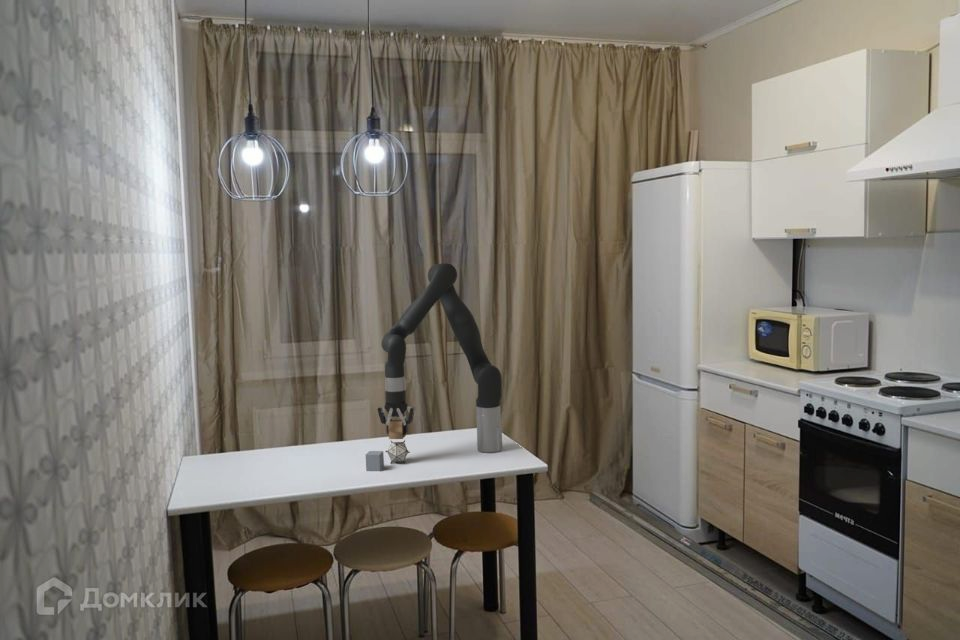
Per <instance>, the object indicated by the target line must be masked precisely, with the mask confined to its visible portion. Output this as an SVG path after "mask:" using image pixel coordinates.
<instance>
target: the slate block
mask: <svg viewBox="0 0 960 640" xmlns="http://www.w3.org/2000/svg"><path fill="white" fill-rule="evenodd" d="M384 456H385V455H384V450H369V451H368V452H367V453H366V454H365V469H366V470H365V472H381V471H382V470H383V469H384V468H385V459H384V458H385V457H384ZM383 467H384V468H383ZM382 468H383V469H382ZM381 469H382V470H381ZM380 470H381V471H380Z"/></svg>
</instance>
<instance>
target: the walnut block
mask: <svg viewBox="0 0 960 640" xmlns="http://www.w3.org/2000/svg"><path fill="white" fill-rule="evenodd" d="M388 430H389V435H388V439H389V440H403V439H404V438H405V437H406V436H407V434H406V435H403V422H402V421H401V419H392V420H391V421H390V422H389V423H388Z"/></svg>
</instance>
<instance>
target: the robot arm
mask: <svg viewBox="0 0 960 640" xmlns="http://www.w3.org/2000/svg"><path fill="white" fill-rule="evenodd" d="M457 279H458V271H457V268H456V267H455V266H454V265H453V264H451V263H448V262H443V263H442V262H441V263H436V264H434V265H432V266H430V268H429V269H428V271H427V280H428V282H429V283H428V285H427V286H426V288H425V289H424V290H423V292H422V293H420V295H419V296H418V297H417V298H416V299H415V300H414V301H412V303H411V304H410V305H408V306H407V308H406V309H405V310H404V313H403V314H402V315H401V317H400V318H399V319H398V321H397V322H396V323H395V324H394V325H393V326H391V328H390V329H389V330H388V331H387V332H386V333H385V335H383V337H382V339H381V344H380V345H381V348H382V350H383V351H385V352H386V353H387V360H386V362H385V363H384V395H385V396H384V398H385V399H384V400H385V401H384V402H385V404H384V406H379V407H377V412H378V416H379V420H380V422H381V424H384V425H385V426H386V434H387V435H388V436H389V430H388V423H389V422H390V421H391V420H393V418H394V417H398V418H399V420H401V421H402V422H403V435H406V436H407V434H408V432H409V431H408V429H409V428H408V425H410V424H412V422H413V419H414V414H415V410H416V407H415V406H409V405H408V403H407V387H406V385H407V384H406V377H405V361H406V353H407V345H406V341H405V340H406V338H407V337H408V336H409V335H412V334H414V333H415V331H416V330H417V329H418V327H419V326H420V325H421V324H422V321H423V320H424V318H426V316H427V314H428V313H429V312H430V310H432V308H433V306H434V305H435V304H436V303H437V302H438V300H439V302H440V304H441V307H442V309H443V311H444V313H445V315H446V317H447V320H448V323H449V325H450V328H451V329H452V331H453V334H454V336H455V338H456V340H457V342H458V344H459V346H460V348H461V350H462V352H463V353H464V355H465V358H466V360H467V362H468V366H469V367H470V368H469V369H470V372H471V374H472V377H473V379H474V382H475V383H476V384H477V398H476V399H475V406H476V407H475V409H476V410H475V411H476V439H477V441H476V442H477V443H476V445H477V446H476V447H477V451H478V452H480V453H497V452H498V453H499V452H501V451H502V449H503V425H502V421H501V417H502V416H501V400H502V384H503V383H502V374H501V371H500V369H499V368H498V367H496V366H495V365H493V364H492V363H491V361H490V360H489V358H488V356H487V355H486V352H485V350H484V348H483V343H482V342H483V341H482V337H481V333H480V329H479V327H478V325H477V322H476V319H475V317H474V315H473V314H472V312H471V311H470V309H469V308H468V306H467V304H466V303H464V301H462V299H461V297H460V295H459V294H458V292H457V290H456V287H455V286H454V284H455V283H456V281H457ZM385 411H386V412H387V413H388V415H387V417H386V416H385ZM406 411H407V412H408V418H407V416H406Z"/></svg>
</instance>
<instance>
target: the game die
mask: <svg viewBox="0 0 960 640" xmlns="http://www.w3.org/2000/svg"><path fill="white" fill-rule="evenodd" d="M405 442H406V439H404V440H403V441H392V440H390V445H389V448H388V449H387V450H385V453H387V454H388V457H389V458H390V464H392V463H393V462H394V463H395V462H396V463H397V462H399V463H400V462H403V463H404V464H405V463H406V458H407V456H408V455H409V454H410V453H411V452H410V451H409V450H408V449H407V446H406V443H405Z"/></svg>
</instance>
